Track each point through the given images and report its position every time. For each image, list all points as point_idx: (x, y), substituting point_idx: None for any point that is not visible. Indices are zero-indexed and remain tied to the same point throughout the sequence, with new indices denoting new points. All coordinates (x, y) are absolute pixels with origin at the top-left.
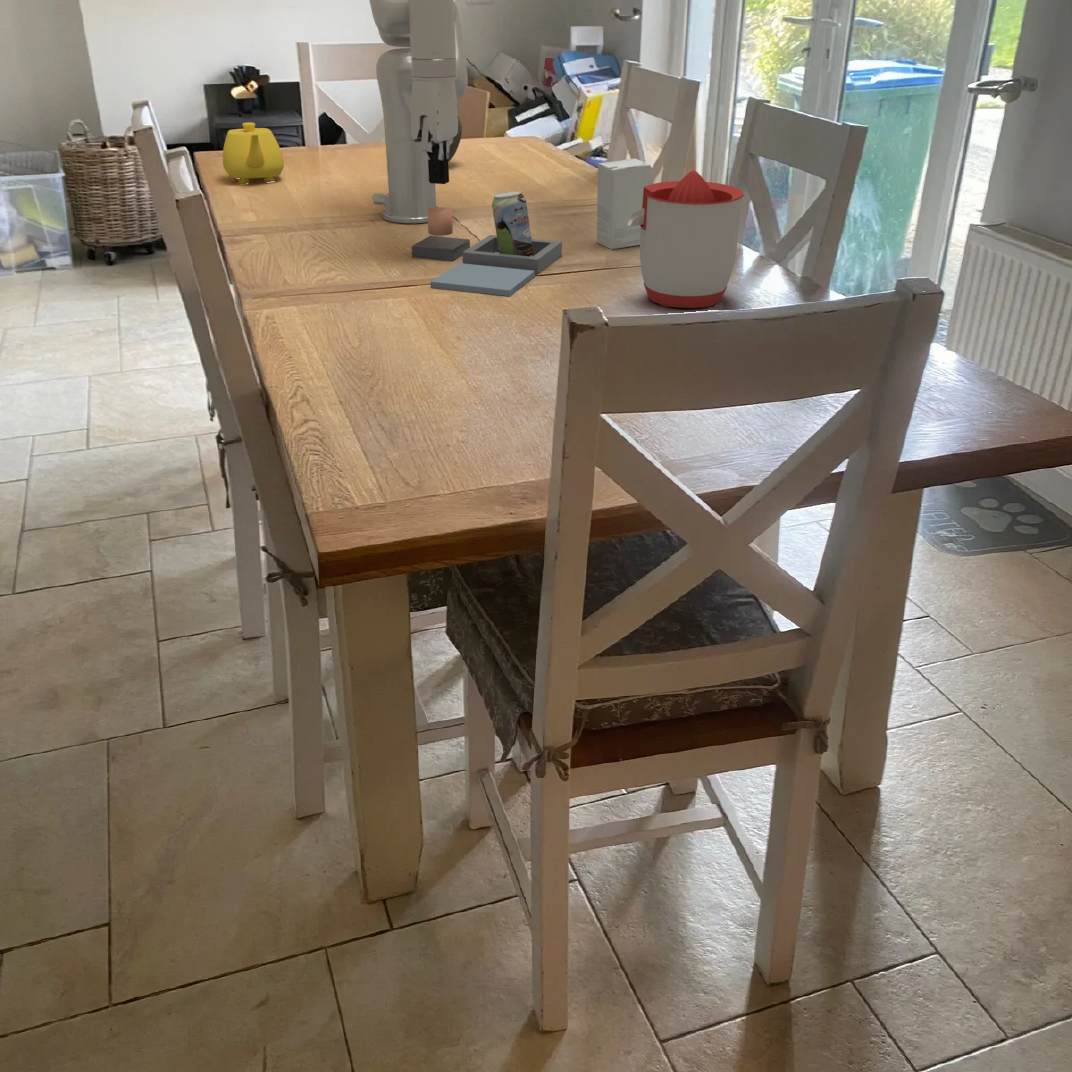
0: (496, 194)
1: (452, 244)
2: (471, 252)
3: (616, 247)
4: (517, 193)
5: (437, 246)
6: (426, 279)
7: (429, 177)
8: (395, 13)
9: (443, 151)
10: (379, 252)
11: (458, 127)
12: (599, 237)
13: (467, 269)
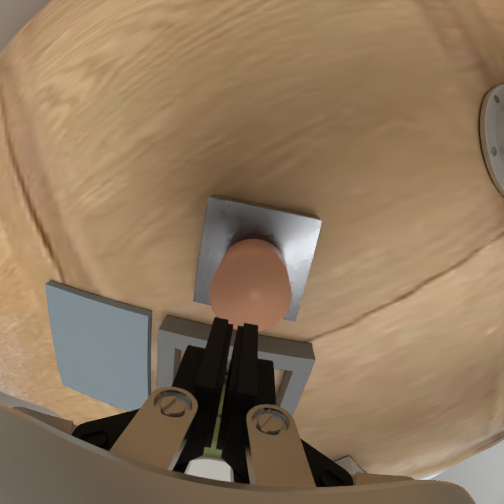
0: (223, 462)
1: None
2: (162, 345)
3: None
4: None
5: (216, 262)
6: (80, 264)
7: (211, 329)
8: None
9: (244, 476)
10: (244, 107)
11: None
12: (341, 465)
13: (116, 333)
